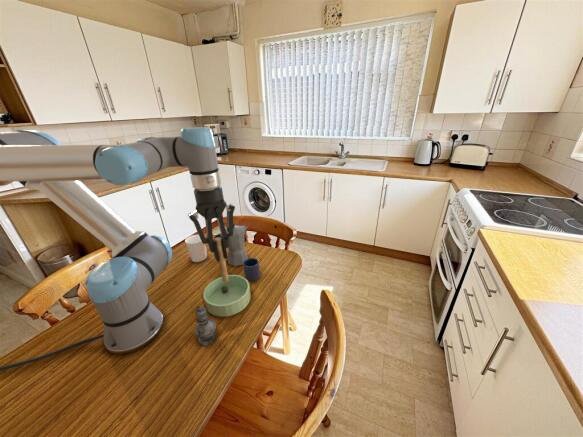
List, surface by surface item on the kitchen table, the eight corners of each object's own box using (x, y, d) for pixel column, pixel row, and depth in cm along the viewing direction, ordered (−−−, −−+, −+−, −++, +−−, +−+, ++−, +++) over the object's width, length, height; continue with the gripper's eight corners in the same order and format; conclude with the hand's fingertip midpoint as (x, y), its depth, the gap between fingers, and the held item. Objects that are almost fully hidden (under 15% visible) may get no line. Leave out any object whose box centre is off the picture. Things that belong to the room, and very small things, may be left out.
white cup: (212, 256, 108) (208, 237, 104) (197, 265, 102) (192, 245, 98) (200, 251, 112) (196, 232, 108) (186, 260, 106) (181, 240, 102)
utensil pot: (248, 284, 90) (246, 269, 87) (242, 275, 95) (240, 261, 92) (262, 278, 93) (261, 263, 90) (256, 270, 98) (254, 256, 95)
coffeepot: (246, 250, 112) (241, 215, 104) (256, 259, 105) (252, 222, 97) (214, 263, 103) (207, 226, 95) (223, 274, 96) (216, 235, 89)
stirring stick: (223, 283, 78) (215, 241, 71) (221, 279, 80) (213, 238, 73) (229, 280, 79) (221, 239, 72) (227, 277, 81) (219, 236, 74)
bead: (222, 295, 84) (221, 290, 83) (220, 291, 86) (219, 286, 85) (229, 292, 85) (228, 287, 84) (227, 288, 87) (226, 283, 86)
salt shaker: (211, 347, 67) (203, 316, 62) (193, 344, 68) (183, 313, 63) (221, 330, 72) (214, 299, 67) (203, 327, 73) (195, 297, 68)
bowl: (212, 325, 74) (209, 313, 71) (201, 295, 85) (198, 284, 83) (257, 304, 81) (256, 293, 78) (241, 280, 92) (240, 269, 90)
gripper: (180, 196, 59) (199, 272, 69) (238, 185, 66) (247, 255, 76) (176, 188, 65) (194, 260, 75) (229, 179, 72) (239, 245, 82)
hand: (221, 257), depth 76 cm, fingers closed on stirring stick, 2 cm apart
